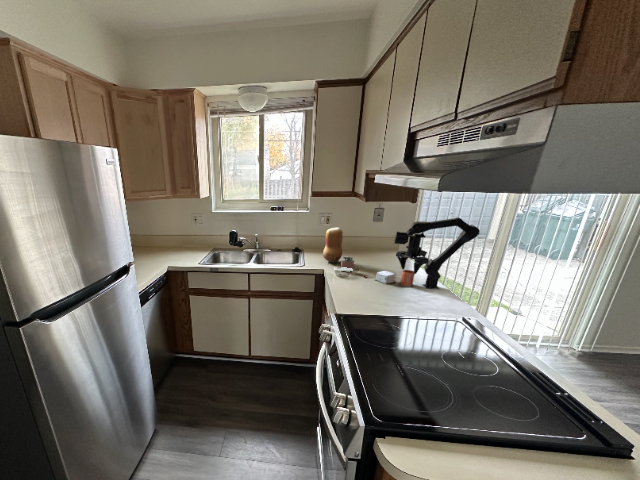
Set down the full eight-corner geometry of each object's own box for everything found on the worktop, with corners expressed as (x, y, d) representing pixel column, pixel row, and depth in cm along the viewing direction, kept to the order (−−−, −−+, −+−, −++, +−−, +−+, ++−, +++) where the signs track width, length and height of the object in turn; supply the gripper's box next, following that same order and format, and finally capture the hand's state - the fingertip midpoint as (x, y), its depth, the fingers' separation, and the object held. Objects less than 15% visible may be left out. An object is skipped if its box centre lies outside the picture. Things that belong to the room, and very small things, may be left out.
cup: (414, 286, 184) (417, 273, 181) (402, 286, 184) (405, 273, 181) (409, 282, 190) (412, 269, 187) (398, 282, 190) (400, 269, 187)
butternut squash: (319, 260, 238) (322, 226, 229) (336, 259, 241) (339, 225, 231) (327, 265, 226) (331, 229, 216) (345, 264, 228) (349, 229, 218)
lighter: (352, 270, 213) (354, 256, 209) (353, 272, 210) (355, 257, 206) (340, 270, 215) (342, 255, 211) (340, 271, 212) (342, 256, 208)
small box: (375, 280, 195) (376, 272, 193) (384, 278, 198) (386, 270, 196) (385, 284, 188) (386, 275, 186) (395, 282, 191) (396, 273, 189)
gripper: (439, 247, 172) (433, 274, 178) (413, 240, 189) (408, 265, 194) (422, 248, 169) (417, 276, 175) (397, 242, 186) (393, 267, 192)
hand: (408, 271), depth 184 cm, fingers open, 9 cm apart
